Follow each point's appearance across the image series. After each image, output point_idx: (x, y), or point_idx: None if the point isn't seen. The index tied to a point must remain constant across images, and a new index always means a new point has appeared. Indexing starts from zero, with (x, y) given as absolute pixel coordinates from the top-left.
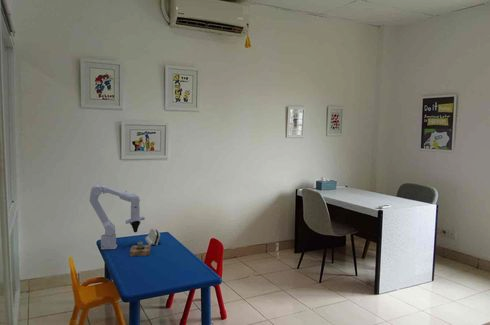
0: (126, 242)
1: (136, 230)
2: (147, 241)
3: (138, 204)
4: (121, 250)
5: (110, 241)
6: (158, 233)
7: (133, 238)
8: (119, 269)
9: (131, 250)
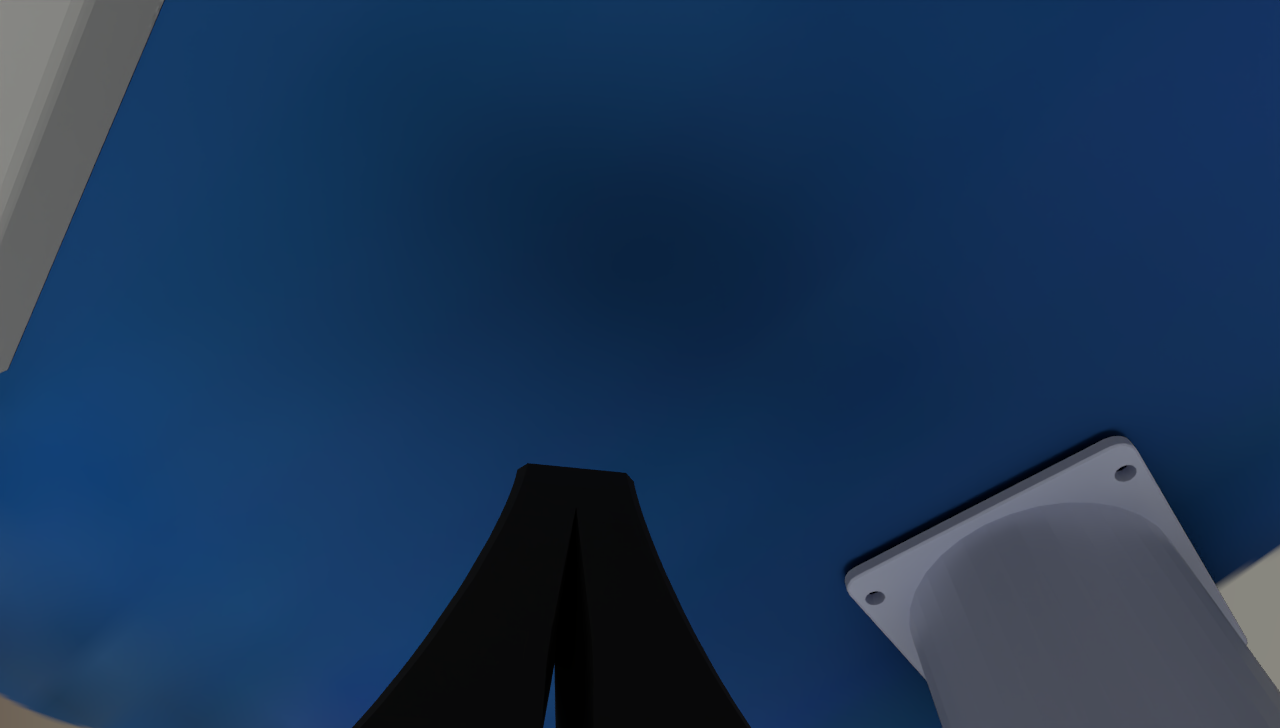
0: None
1: (583, 523)
2: (89, 125)
3: None
4: (1175, 230)
5: (1265, 677)
6: None
7: (205, 636)
8: None
9: None
